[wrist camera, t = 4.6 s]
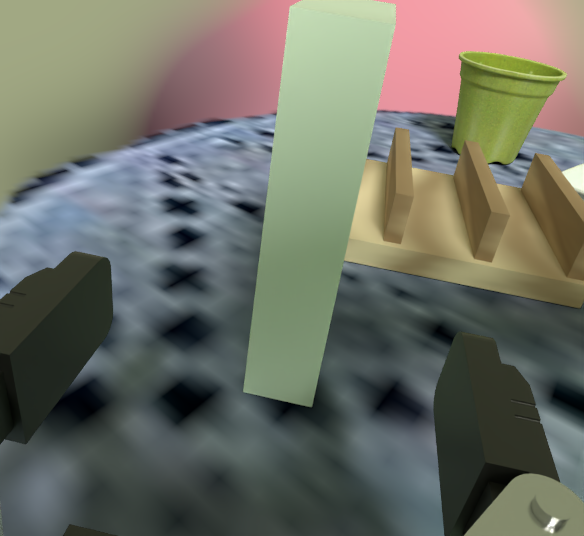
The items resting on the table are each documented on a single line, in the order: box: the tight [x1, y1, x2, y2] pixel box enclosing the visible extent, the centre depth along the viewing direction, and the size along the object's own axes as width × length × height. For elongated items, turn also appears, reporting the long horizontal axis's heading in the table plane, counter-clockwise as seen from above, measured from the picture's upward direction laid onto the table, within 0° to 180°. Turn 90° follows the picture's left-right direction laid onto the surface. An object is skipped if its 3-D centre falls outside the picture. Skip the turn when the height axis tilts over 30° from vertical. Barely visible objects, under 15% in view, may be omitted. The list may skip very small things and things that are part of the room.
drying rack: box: [344, 128, 584, 308], centre depth 36 cm, size 17×14×4 cm
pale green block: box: [243, 0, 396, 407], centre depth 20 cm, size 3×6×14 cm, turn 171°
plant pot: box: [452, 51, 567, 164], centre depth 51 cm, size 9×9×9 cm
